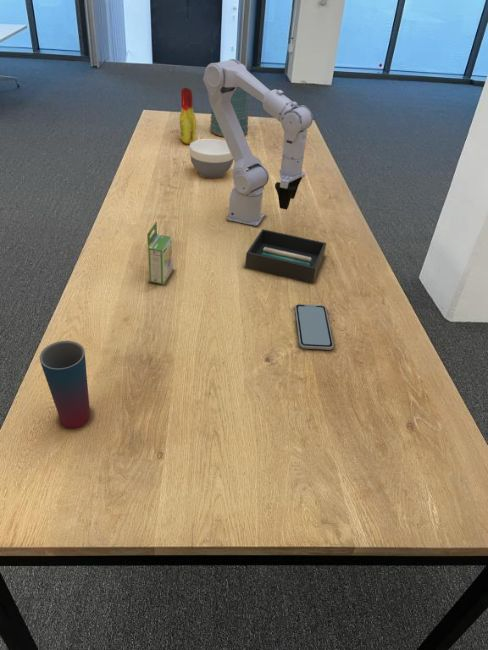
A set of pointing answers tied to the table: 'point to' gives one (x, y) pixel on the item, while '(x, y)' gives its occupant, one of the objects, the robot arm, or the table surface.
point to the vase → (241, 111)
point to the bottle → (187, 117)
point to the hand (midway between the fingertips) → (287, 203)
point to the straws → (286, 256)
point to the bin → (288, 245)
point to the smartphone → (313, 327)
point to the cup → (67, 381)
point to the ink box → (159, 256)
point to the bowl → (211, 157)
